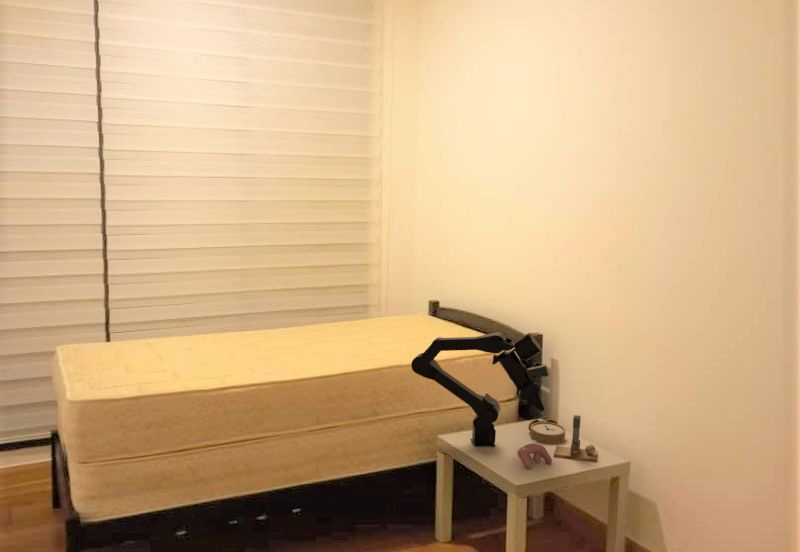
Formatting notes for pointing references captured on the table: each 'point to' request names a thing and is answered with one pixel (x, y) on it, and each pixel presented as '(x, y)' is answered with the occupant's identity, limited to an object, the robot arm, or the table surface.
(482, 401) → the robot arm
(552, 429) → the alarm clock
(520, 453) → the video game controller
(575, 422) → the lever
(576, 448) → the base
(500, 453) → the table surface
